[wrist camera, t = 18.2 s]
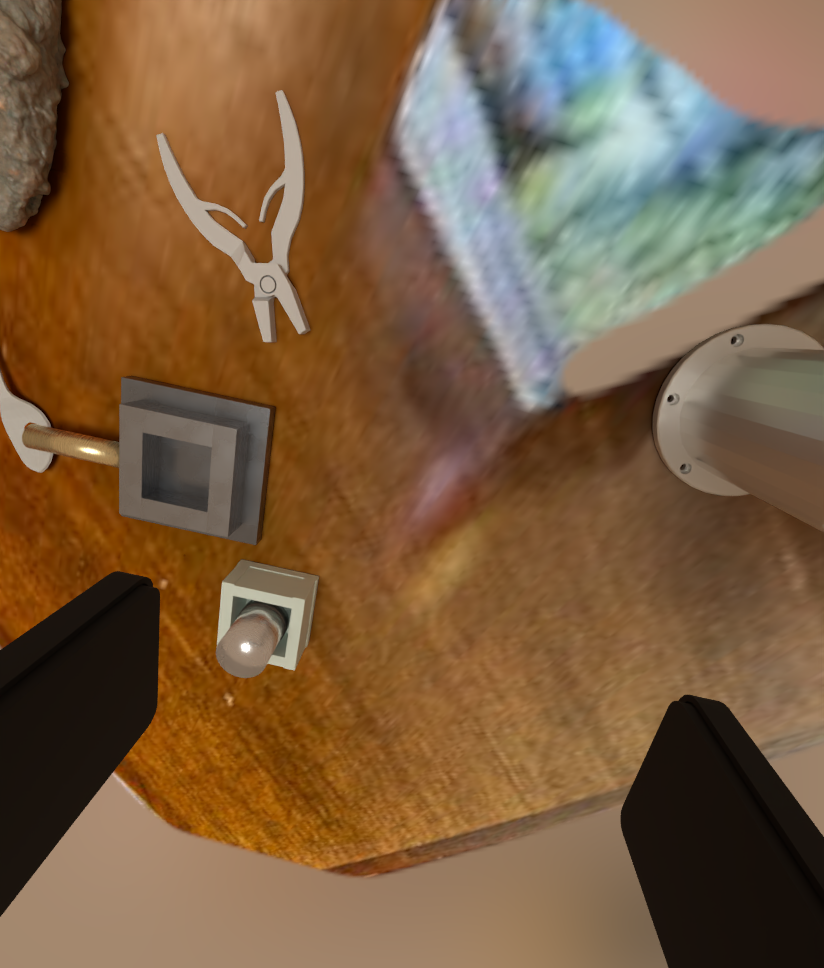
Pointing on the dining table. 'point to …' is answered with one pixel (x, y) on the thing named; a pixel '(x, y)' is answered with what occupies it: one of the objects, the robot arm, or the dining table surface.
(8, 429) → the spoon
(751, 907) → the robot arm
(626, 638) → the dining table surface
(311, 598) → the pale square socket block
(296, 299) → the pliers
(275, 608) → the beige round-topped cylinder
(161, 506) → the grey square pan
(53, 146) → the elongated rock
